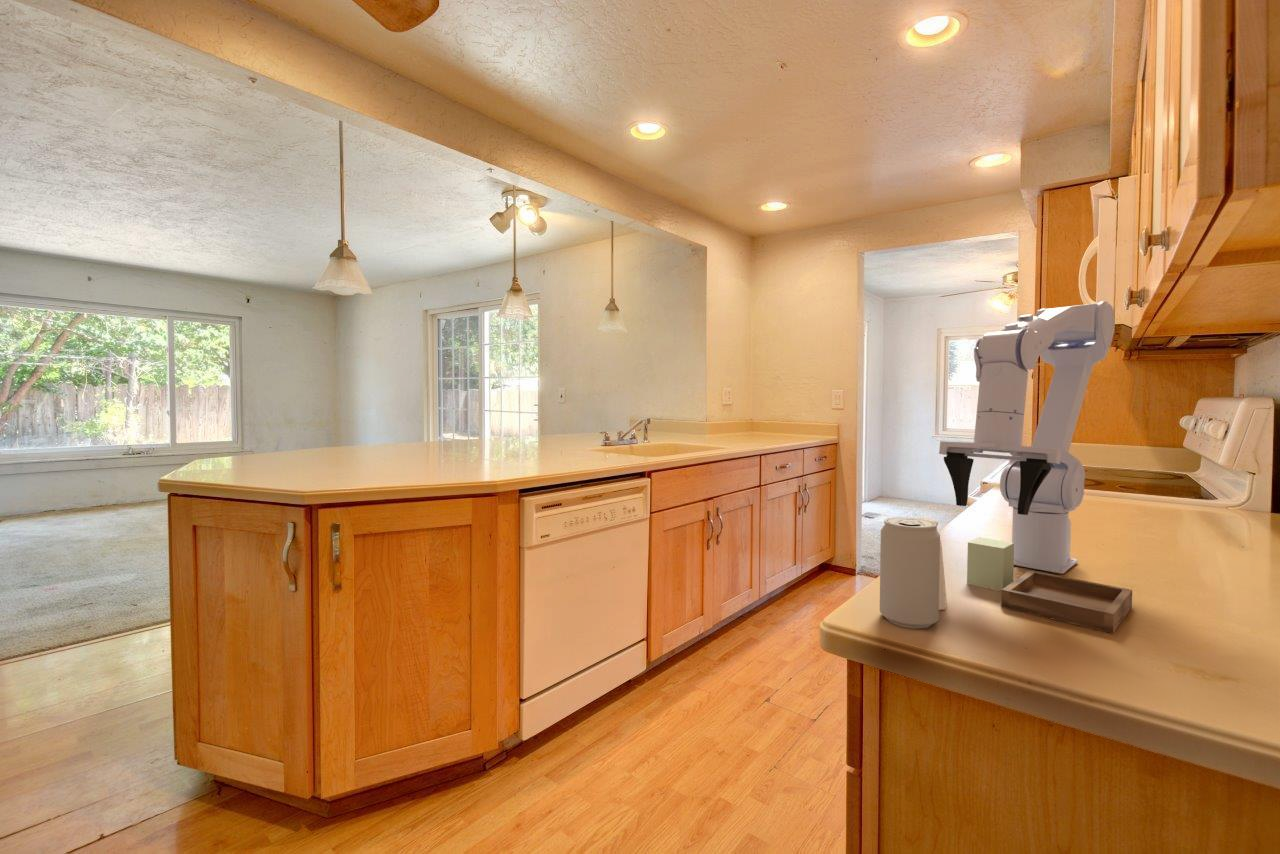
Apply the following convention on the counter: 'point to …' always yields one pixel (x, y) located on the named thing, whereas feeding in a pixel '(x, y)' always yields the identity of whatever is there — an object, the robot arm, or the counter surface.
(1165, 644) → the counter surface
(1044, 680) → the counter surface
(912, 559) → the beverage can
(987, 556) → the sage block
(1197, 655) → the counter surface
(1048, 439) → the robot arm
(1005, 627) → the counter surface
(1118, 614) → the walnut tray
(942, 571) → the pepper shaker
